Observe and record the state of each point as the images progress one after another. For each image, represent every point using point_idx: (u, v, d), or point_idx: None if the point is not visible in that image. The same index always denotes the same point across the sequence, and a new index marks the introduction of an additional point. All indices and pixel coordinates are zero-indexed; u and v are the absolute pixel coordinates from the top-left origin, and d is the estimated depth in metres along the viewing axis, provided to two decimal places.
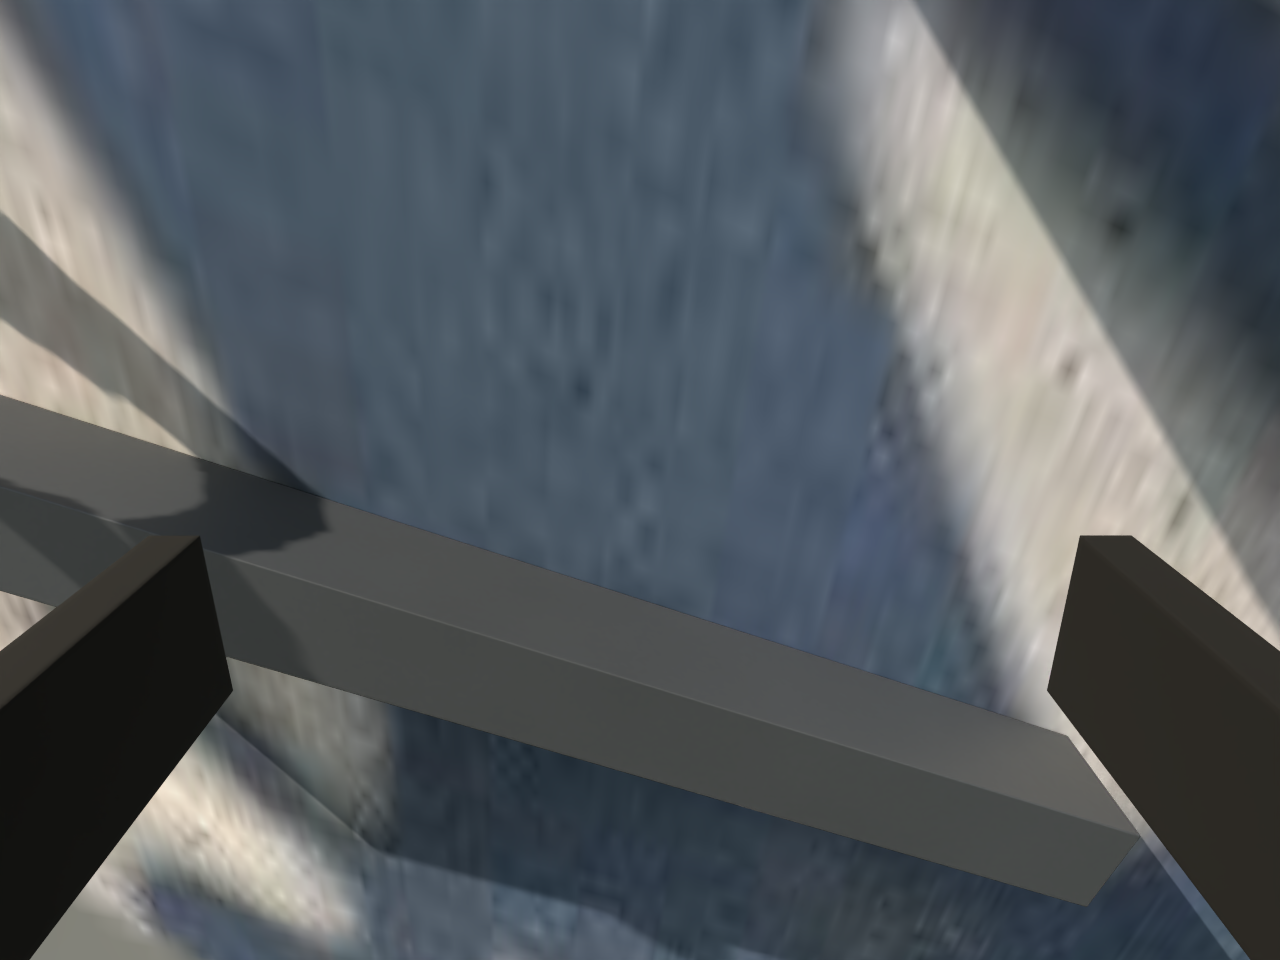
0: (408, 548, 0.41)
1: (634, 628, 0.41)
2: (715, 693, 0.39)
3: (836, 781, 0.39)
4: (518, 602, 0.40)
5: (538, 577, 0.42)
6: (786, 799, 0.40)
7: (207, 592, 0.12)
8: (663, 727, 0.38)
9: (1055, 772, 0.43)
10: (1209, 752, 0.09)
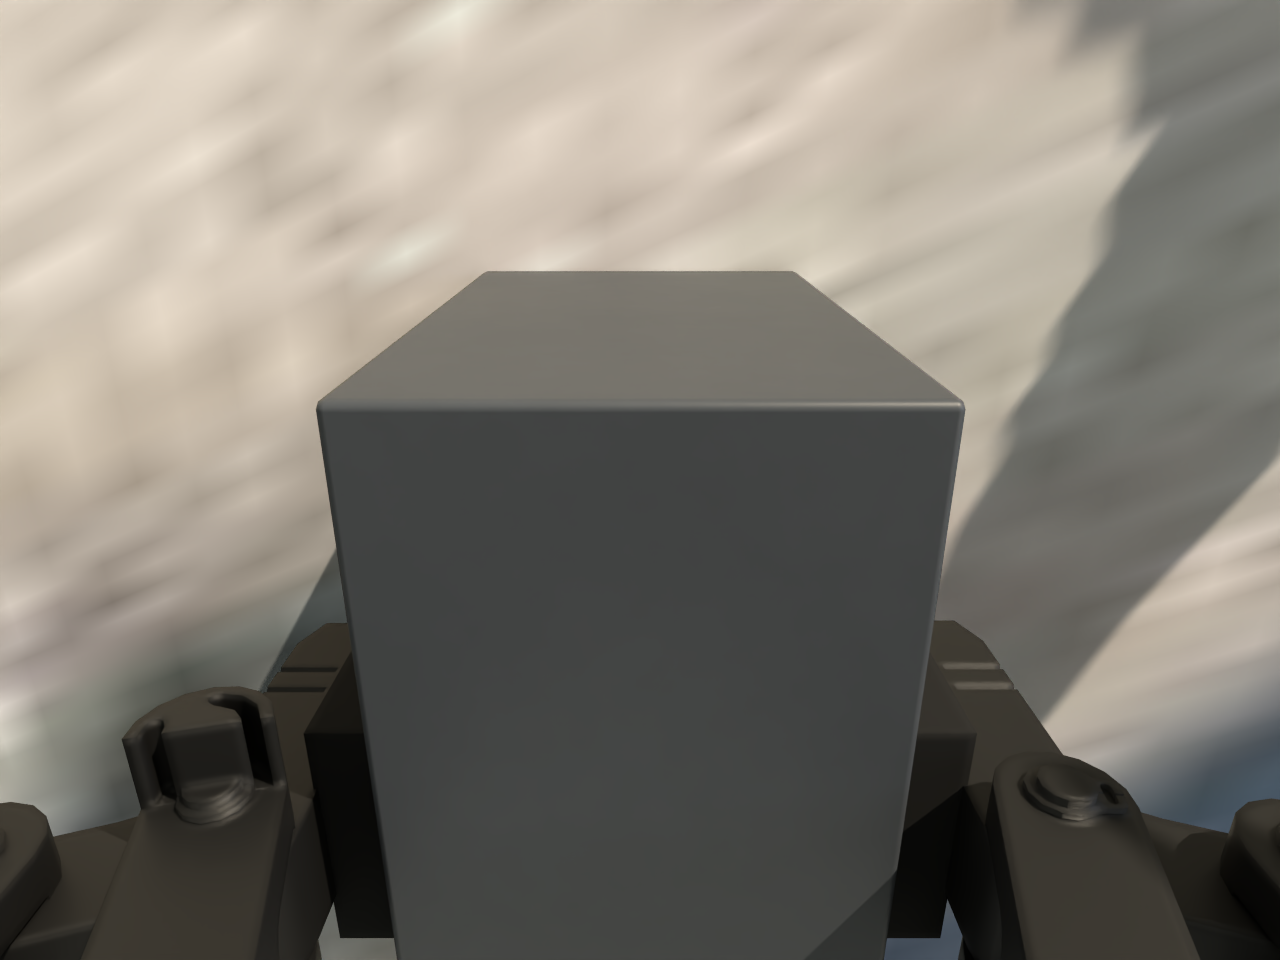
0: None
1: None
2: None
3: None
4: None
5: None
6: None
7: None
8: None
9: None
10: None
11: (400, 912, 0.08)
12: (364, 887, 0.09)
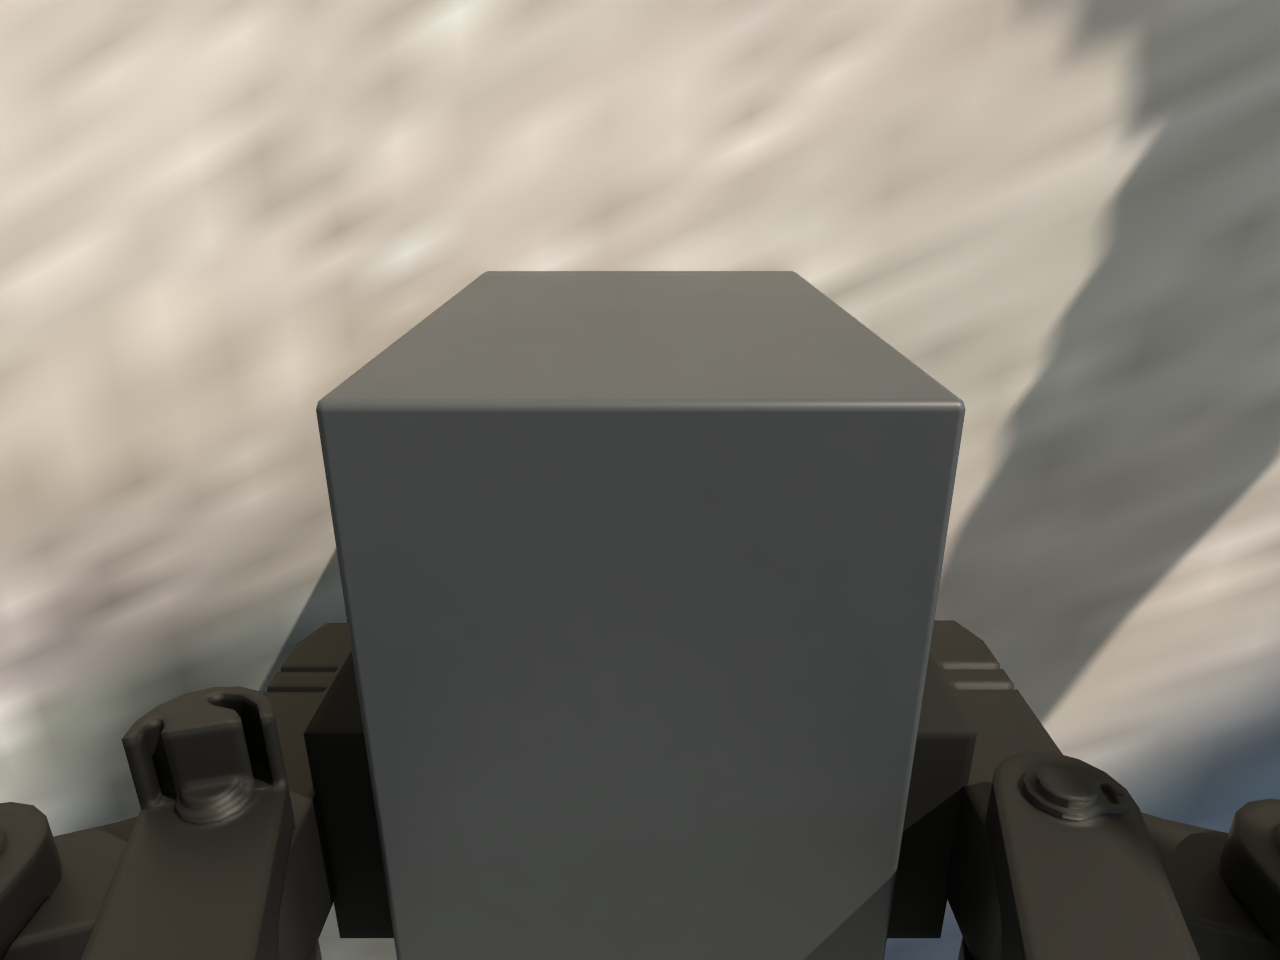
0: None
1: None
2: None
3: None
4: None
5: None
6: None
7: None
8: None
9: None
10: None
11: (400, 912, 0.08)
12: (364, 887, 0.09)
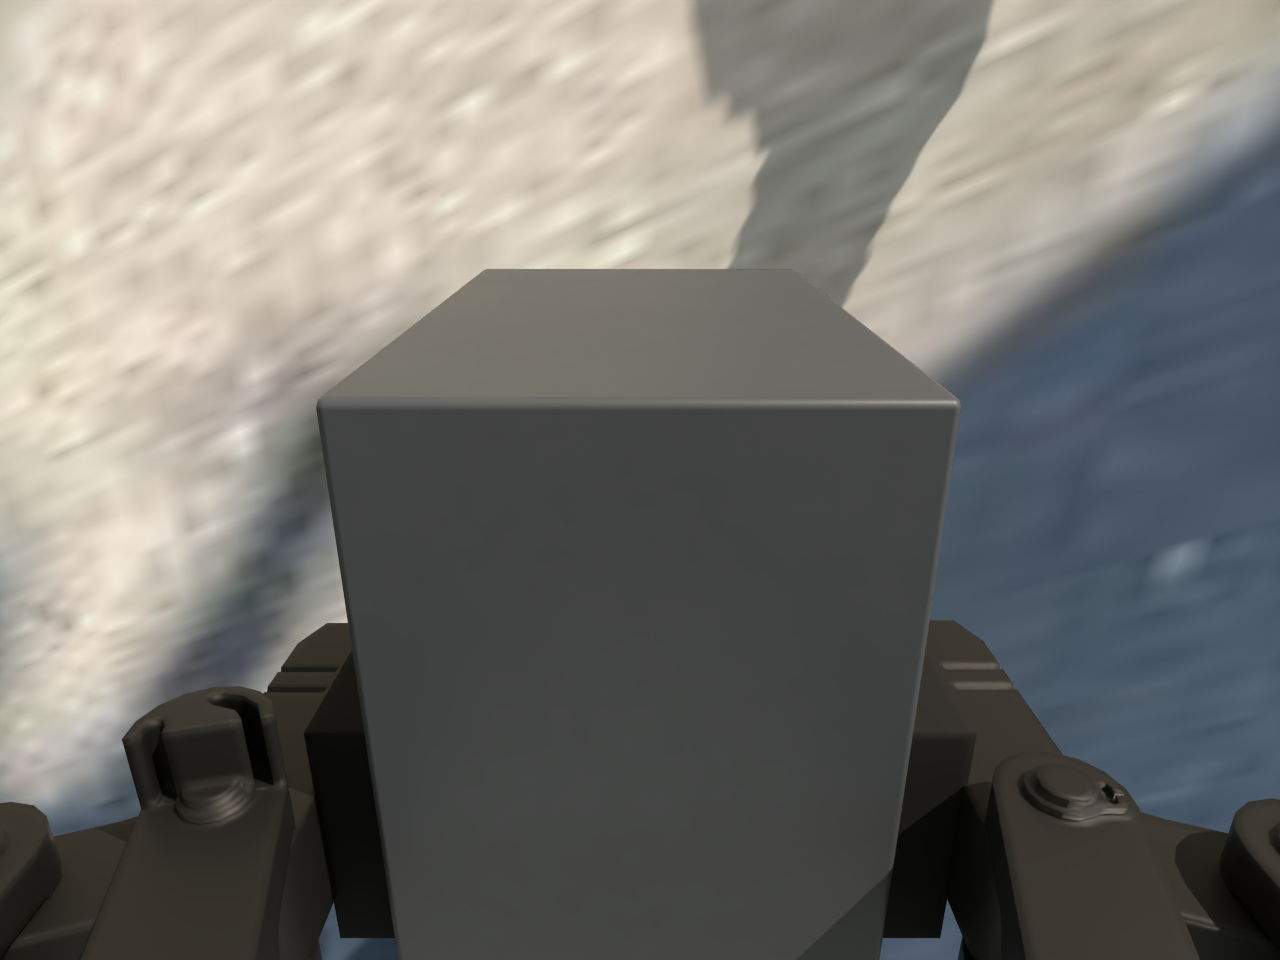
0: None
1: None
2: None
3: None
4: None
5: None
6: None
7: None
8: None
9: None
10: None
11: (400, 907, 0.08)
12: (364, 887, 0.09)
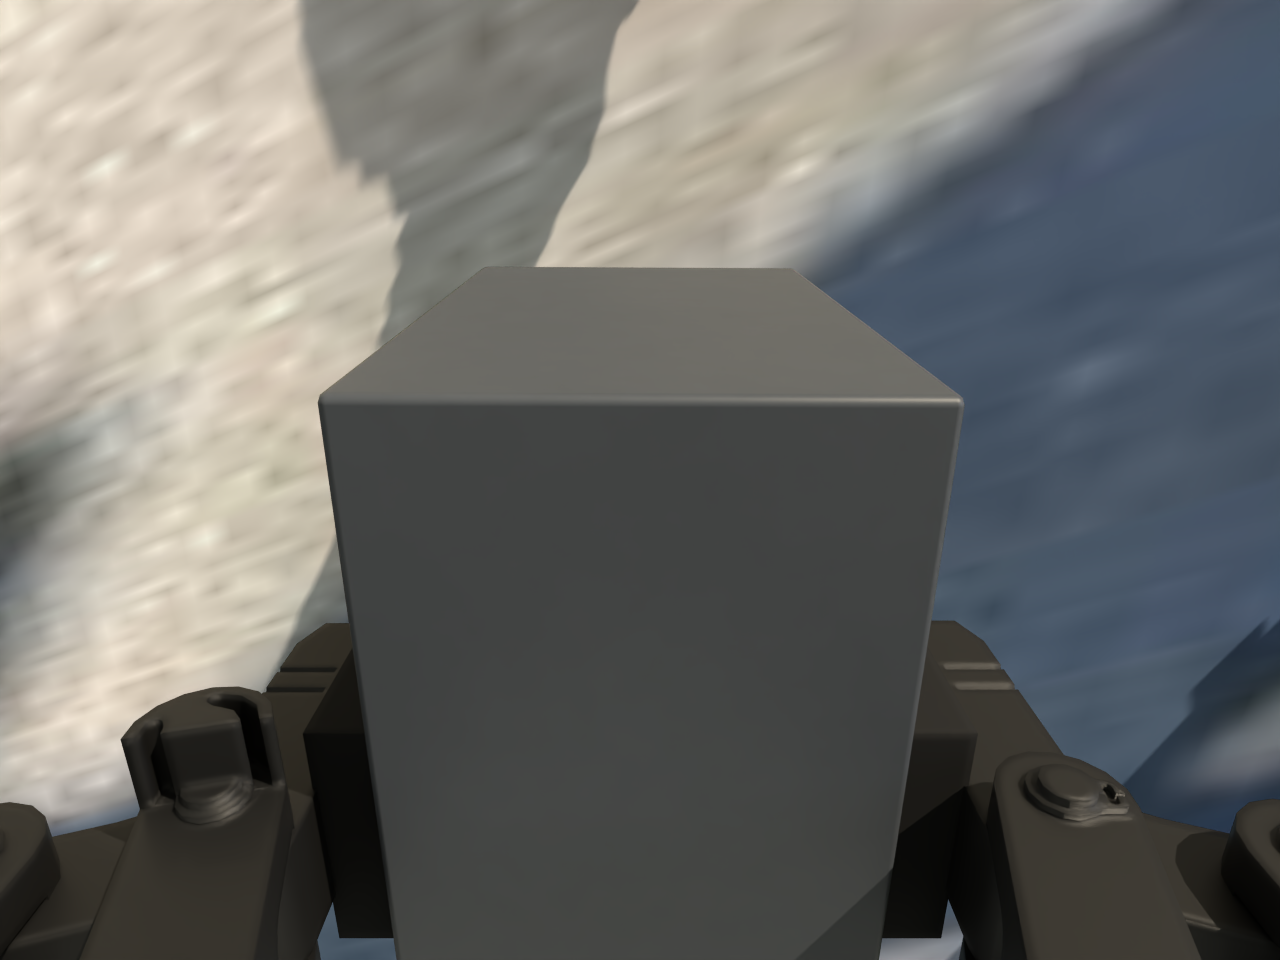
0: None
1: None
2: None
3: None
4: None
5: None
6: None
7: None
8: None
9: None
10: None
11: (399, 904, 0.08)
12: (363, 887, 0.09)
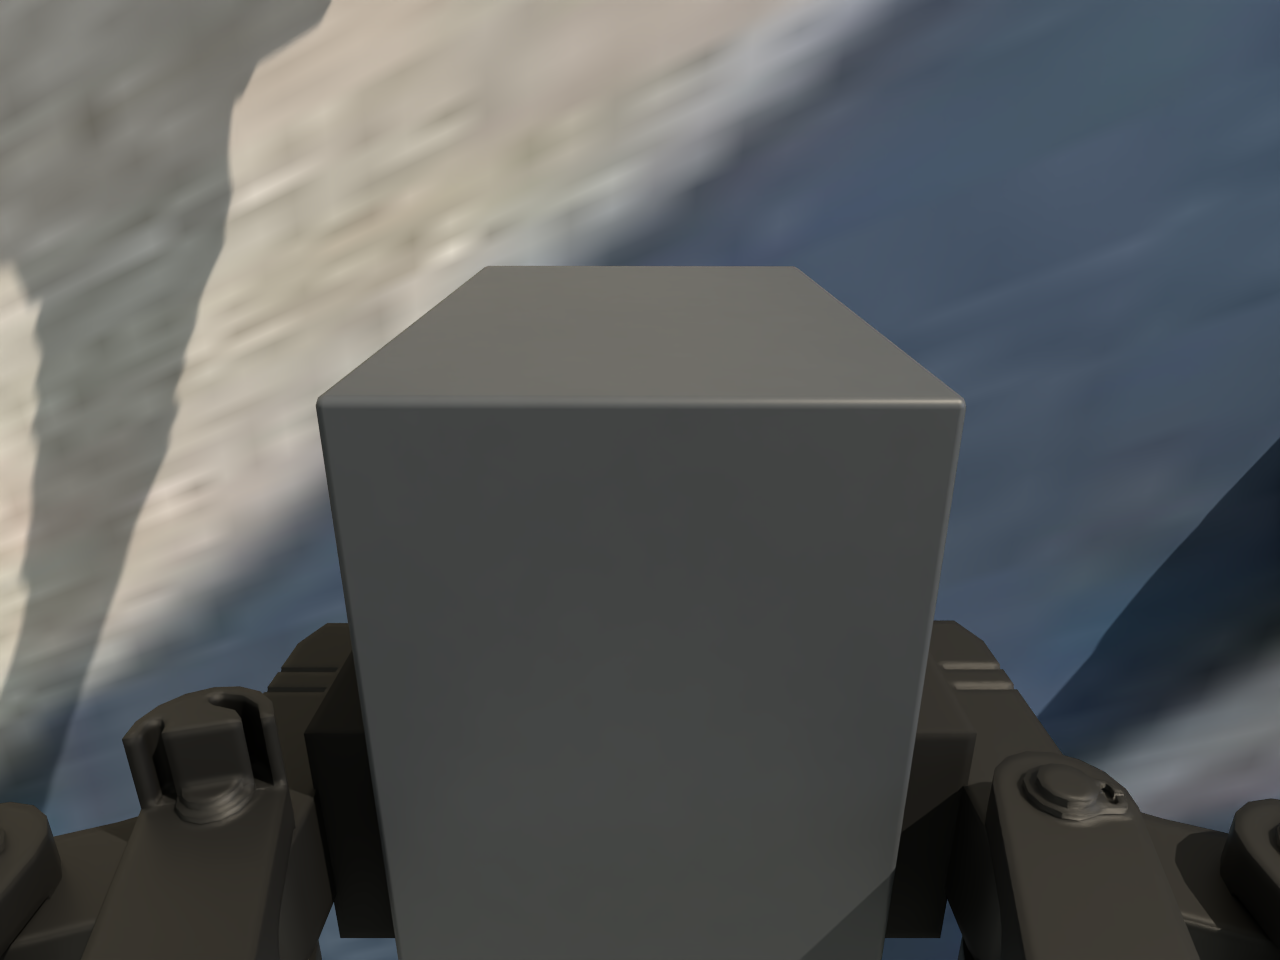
0: None
1: None
2: None
3: None
4: None
5: None
6: None
7: None
8: None
9: None
10: None
11: (400, 906, 0.08)
12: (364, 887, 0.09)
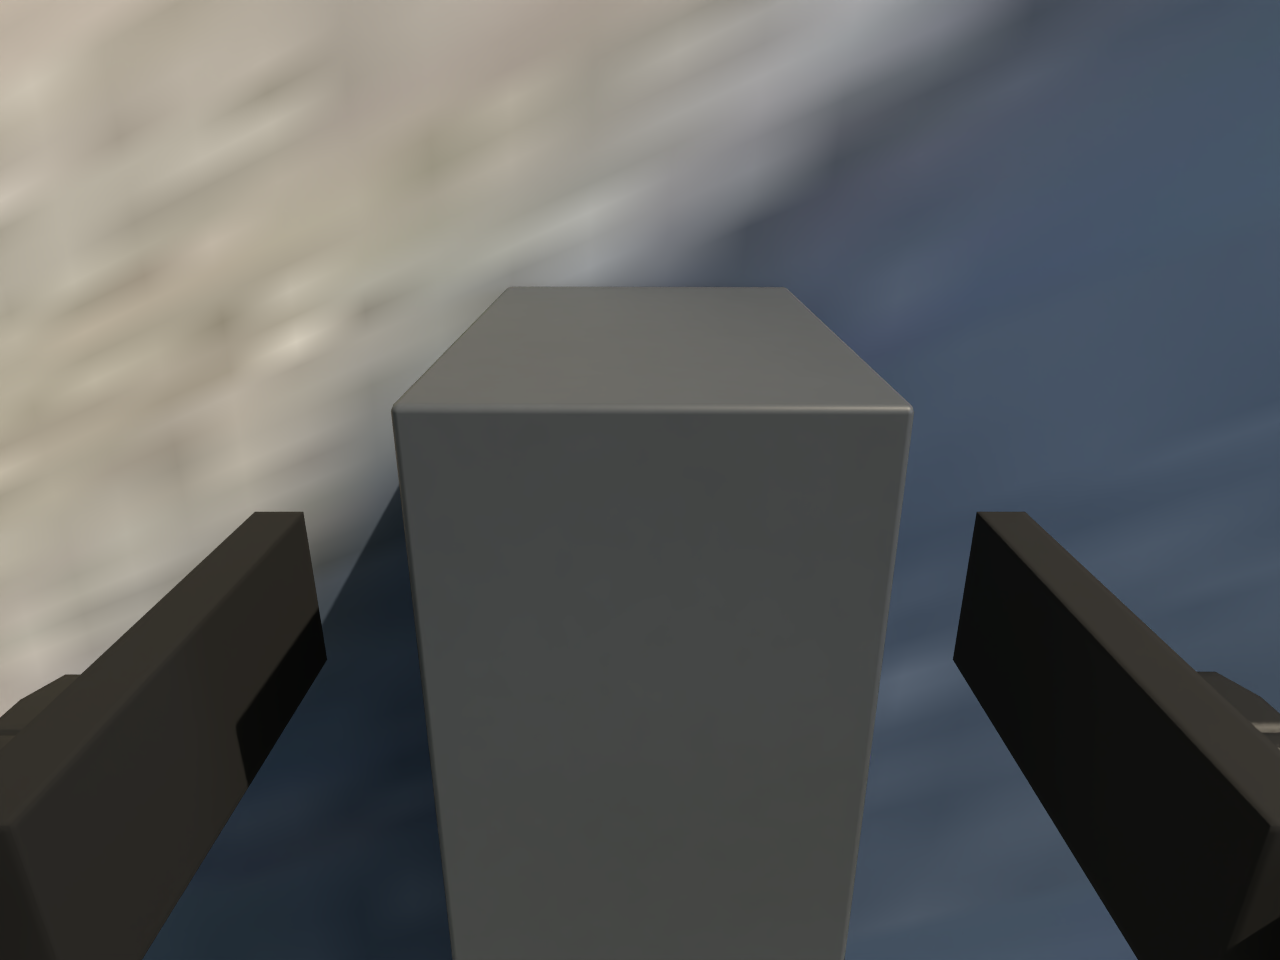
0: None
1: None
2: None
3: None
4: None
5: None
6: None
7: (308, 565, 0.13)
8: None
9: None
10: (1068, 705, 0.10)
11: (448, 833, 0.10)
12: None
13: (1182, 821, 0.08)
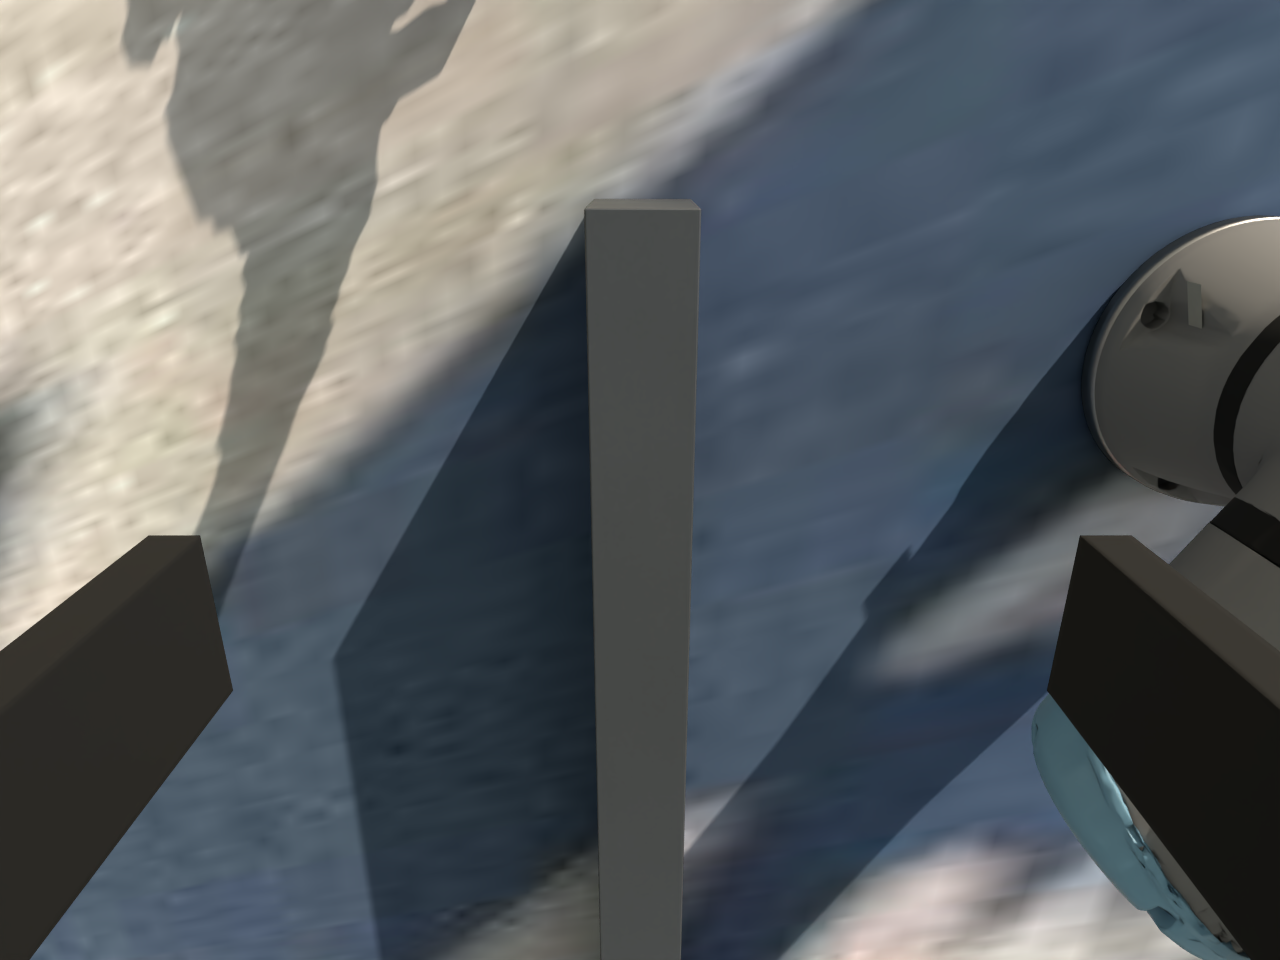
0: None
1: None
2: None
3: None
4: None
5: None
6: None
7: (207, 592, 0.12)
8: (650, 883, 0.50)
9: None
10: (1209, 752, 0.09)
11: (589, 329, 0.38)
12: None
13: None
